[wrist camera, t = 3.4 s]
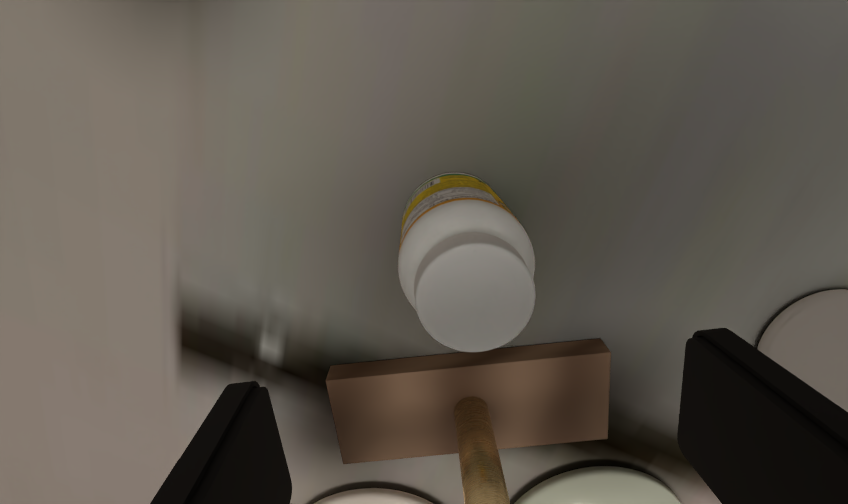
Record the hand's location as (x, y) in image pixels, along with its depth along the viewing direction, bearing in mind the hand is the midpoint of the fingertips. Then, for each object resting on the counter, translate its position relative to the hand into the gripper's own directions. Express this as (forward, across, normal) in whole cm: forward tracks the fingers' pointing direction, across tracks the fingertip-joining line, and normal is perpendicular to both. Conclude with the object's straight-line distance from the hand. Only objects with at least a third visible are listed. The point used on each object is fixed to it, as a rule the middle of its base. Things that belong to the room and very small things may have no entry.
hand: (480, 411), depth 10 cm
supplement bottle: (+15, -1, 0) cm, 15 cm away
